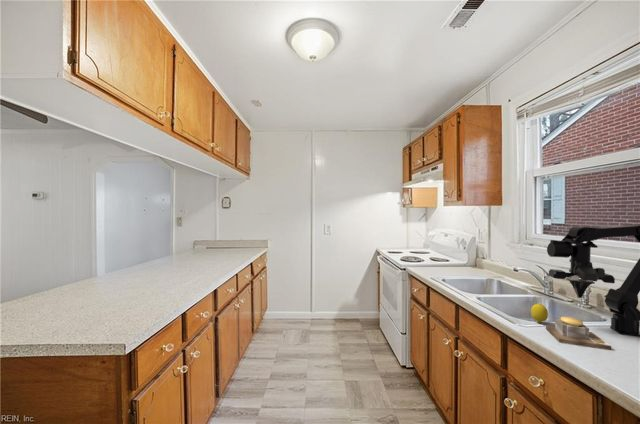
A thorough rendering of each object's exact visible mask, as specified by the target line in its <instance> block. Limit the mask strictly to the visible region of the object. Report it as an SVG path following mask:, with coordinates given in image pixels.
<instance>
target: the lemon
mask: <svg viewBox="0 0 640 424" xmlns="http://www.w3.org/2000/svg"><path fill="white" fill-rule="evenodd" d="M530 315H531V317H532V318H533V319H534V320H535V321H537V323H538V324H539V323H540V324H541V323H542V322H545V321H547V319H548V317H549V312H548V308H547V306H545V305H544V304H542V303H541V302H539V303H535V304H534V305H532V306H531V309H530Z"/></svg>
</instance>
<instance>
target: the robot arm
mask: <svg viewBox="0 0 640 424" xmlns="http://www.w3.org/2000/svg"><path fill="white" fill-rule="evenodd" d="M630 236H631V237H634V239H635V240H636V241H637V242H638V243H640V224H632V225H619V226H618V225H617V226H607V227H589V226H577V225H576V226H572V227H571V228H570V229H569V230H568V233H567V234H566V235H565V236H564V237H563V238H562V239H561V240H556V239H550V240H549V241H550V242H549V244H547V247H546V251H547V255H548V256H549V257H550V258H569V263H570V268H569V269H568V271H569V272H566V271H564V270H562V269H553V268H552V269H551V268H550V269H549V270H548V277H551V278H552V279H557V280H567V281H569V283H570V285H571V286H572V288H573V291H574V292H575V295H576V297H577V298H579V299H582V298H583V296H584V294H585V292H586V290H587V289H588V287H590V286H591V285H592V284H593V285H594V284H595V283H596V282H598V281H602V282H603V283H604V284H605V283H606V284H615V283H616V282H615V281H616V280H615V277H614V276H613V275H612V274H609V273H606V270H605V268H602V267H596V268H595V267H593V261H591V249H592V248H594V249H595V248H598V247H599V246H598V245H596V244H595V243H594V242H593V241H598V240H600V239H605V238H617V237H630ZM639 294H640V257H639V258H638V259H637V262H636V263H635V264H634V266H633V268H632V269H631V270H630V272H629V273H628V275H627V276H626V278H625V279H624V281H623V283H622V284H621V285H620V286H619V287H618V288H616V289H614V288H609V289H608V292H607V293H606V294H605V295H604V296H603V297H604V304H605V306H607V307H608V310H609V312H610V313H612V317H611V318H610V321H611V322H610V326H609V328H610V329H611V330H612V331H615V332H616V333H618V334H619V335H626V336H636V337H640V309H638V306H639V296H638V295H639Z"/></svg>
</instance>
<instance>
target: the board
mask: <svg viewBox="0 0 640 424" xmlns="http://www.w3.org/2000/svg"><path fill="white" fill-rule="evenodd" d="M554 320H555V321H554V323H555V326H549V325H548V326H547V325H546V326H545V330H546V331H547V332H548V333H549V334H550V335H551V336H552V337H553V338H554V339H555V340H556V341H557V342H558V343H562V344H567V343H568V344H569V345H575V346H582V347H589V348H594V349H595V348H596V349H602V350H608V351H609V350H610V351H611V350H612V345H611V344H609V343H608V342H607V341H605V340H604V339H602V338H601V337H599V336H598V335H596V334H595V333H594V332H593V331H590V328H589V327H587V326H586V325H585V324H583V325H582V326H579V327H578V326H571V325H566V324H564V322H562V321H561V318H555V319H554Z"/></svg>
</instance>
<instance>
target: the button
mask: <svg viewBox="0 0 640 424" xmlns="http://www.w3.org/2000/svg"><path fill="white" fill-rule="evenodd" d="M560 319H561V321H562V322H564V324H566V325H571V326H578V327H579V326H582V325H584V324H583V323H584V322H583V320H581V319H579V318H575V317H571V316H561V317H560Z"/></svg>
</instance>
